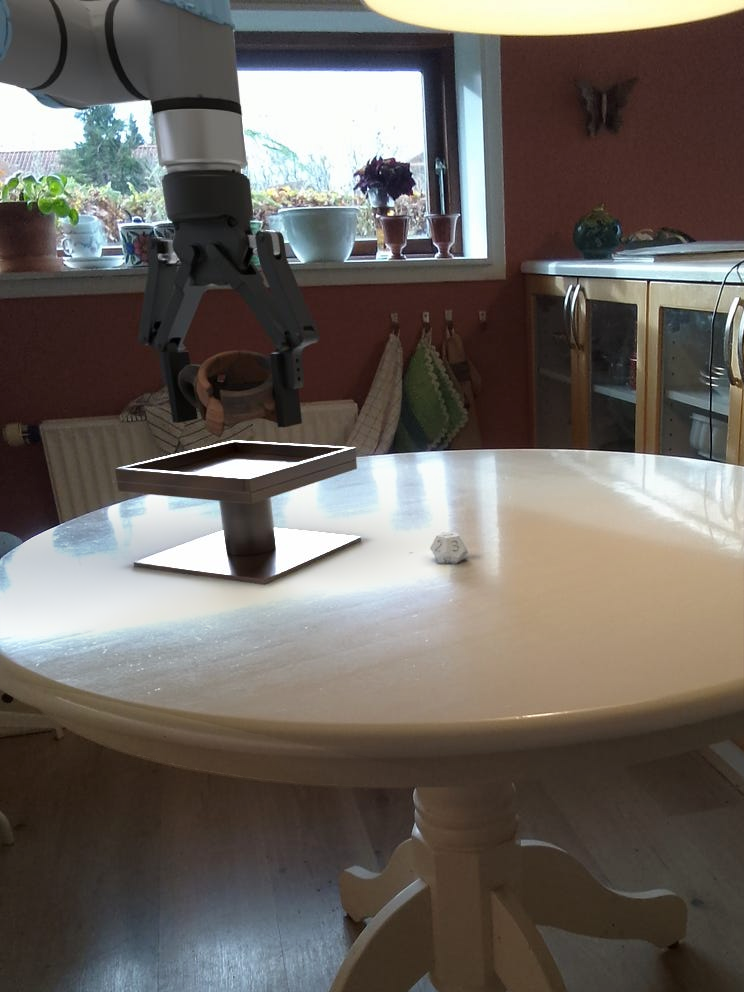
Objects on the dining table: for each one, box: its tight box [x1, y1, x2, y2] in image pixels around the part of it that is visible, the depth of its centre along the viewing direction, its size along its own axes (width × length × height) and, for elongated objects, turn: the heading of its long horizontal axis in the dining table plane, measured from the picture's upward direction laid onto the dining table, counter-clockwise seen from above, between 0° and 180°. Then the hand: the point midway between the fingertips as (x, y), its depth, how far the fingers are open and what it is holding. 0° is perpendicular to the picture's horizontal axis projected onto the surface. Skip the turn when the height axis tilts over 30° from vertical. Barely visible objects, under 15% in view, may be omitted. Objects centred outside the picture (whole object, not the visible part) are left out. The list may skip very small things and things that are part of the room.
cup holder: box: [114, 440, 362, 586], centre depth 92 cm, size 16×17×10 cm
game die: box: [429, 531, 469, 564], centre depth 89 cm, size 4×4×3 cm
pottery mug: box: [178, 349, 277, 438], centre depth 88 cm, size 12×10×8 cm
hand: (236, 423), depth 89 cm, fingers closed on pottery mug, 12 cm apart
